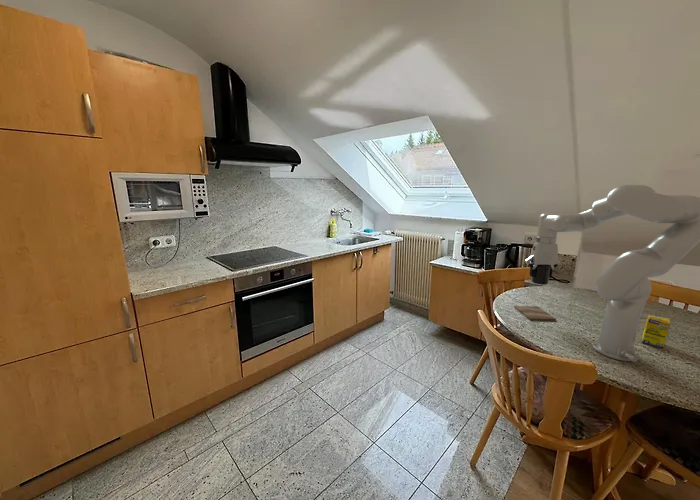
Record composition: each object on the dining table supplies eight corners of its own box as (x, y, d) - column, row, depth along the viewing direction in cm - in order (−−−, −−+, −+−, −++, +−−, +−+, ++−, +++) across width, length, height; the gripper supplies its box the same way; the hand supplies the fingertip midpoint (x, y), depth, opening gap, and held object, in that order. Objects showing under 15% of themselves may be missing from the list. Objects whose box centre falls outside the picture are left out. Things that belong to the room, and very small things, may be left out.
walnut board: (555, 320, 132) (556, 318, 131) (529, 320, 132) (530, 318, 132) (537, 308, 145) (538, 306, 145) (514, 307, 146) (514, 305, 146)
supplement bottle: (542, 280, 138) (546, 257, 135) (551, 285, 131) (555, 260, 129) (528, 280, 139) (531, 256, 136) (535, 284, 132) (539, 260, 129)
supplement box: (641, 343, 113) (648, 318, 111) (641, 337, 117) (647, 313, 115) (663, 349, 109) (670, 323, 107) (662, 343, 113) (669, 318, 111)
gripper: (531, 241, 127) (526, 279, 131) (571, 241, 126) (564, 279, 130) (522, 238, 134) (517, 274, 138) (559, 238, 134) (553, 274, 138)
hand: (540, 276), depth 134 cm, fingers closed on supplement bottle, 6 cm apart
